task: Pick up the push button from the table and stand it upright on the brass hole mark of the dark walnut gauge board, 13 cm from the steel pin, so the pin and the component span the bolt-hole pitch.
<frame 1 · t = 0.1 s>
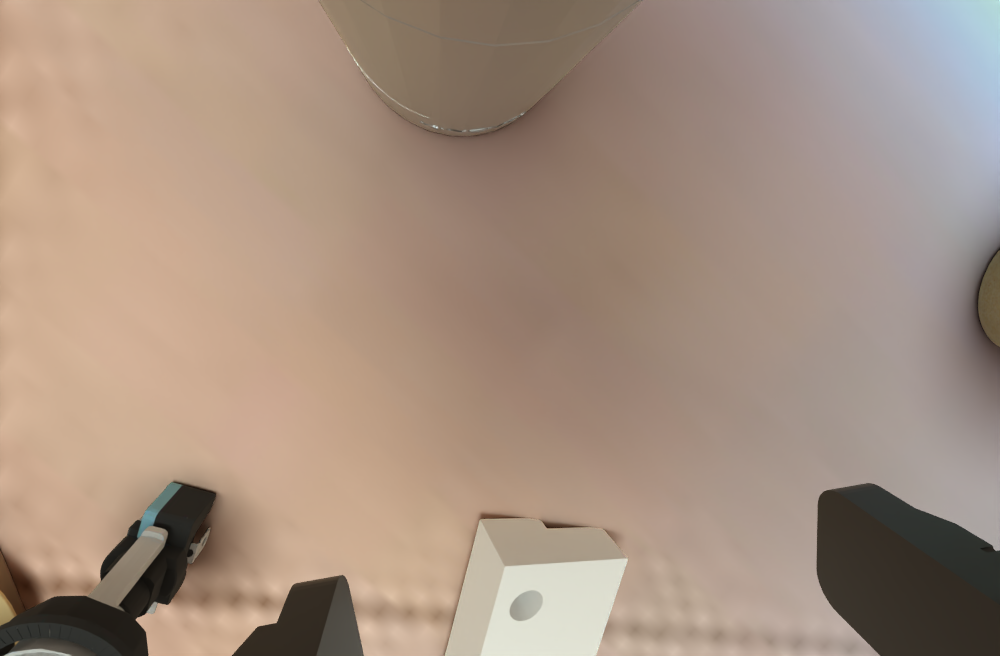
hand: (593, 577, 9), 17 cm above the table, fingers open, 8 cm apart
bracket: (526, 615, 30), on the table
push button: (178, 532, 26), on the table
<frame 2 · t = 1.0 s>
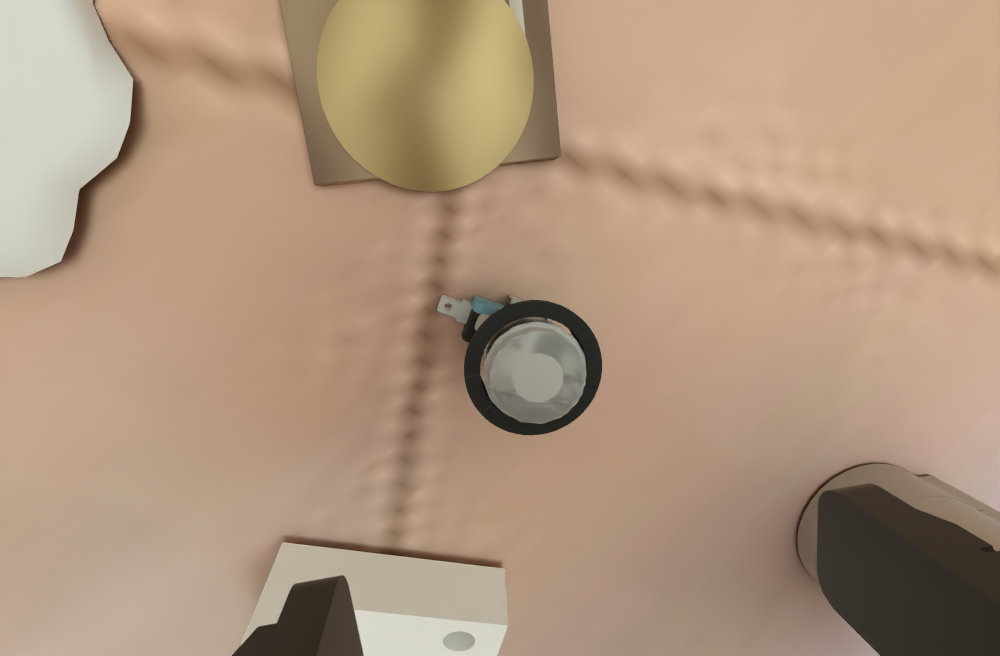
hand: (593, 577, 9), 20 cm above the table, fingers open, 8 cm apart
bracket: (387, 606, 32), on the table
push button: (497, 318, 29), on the table
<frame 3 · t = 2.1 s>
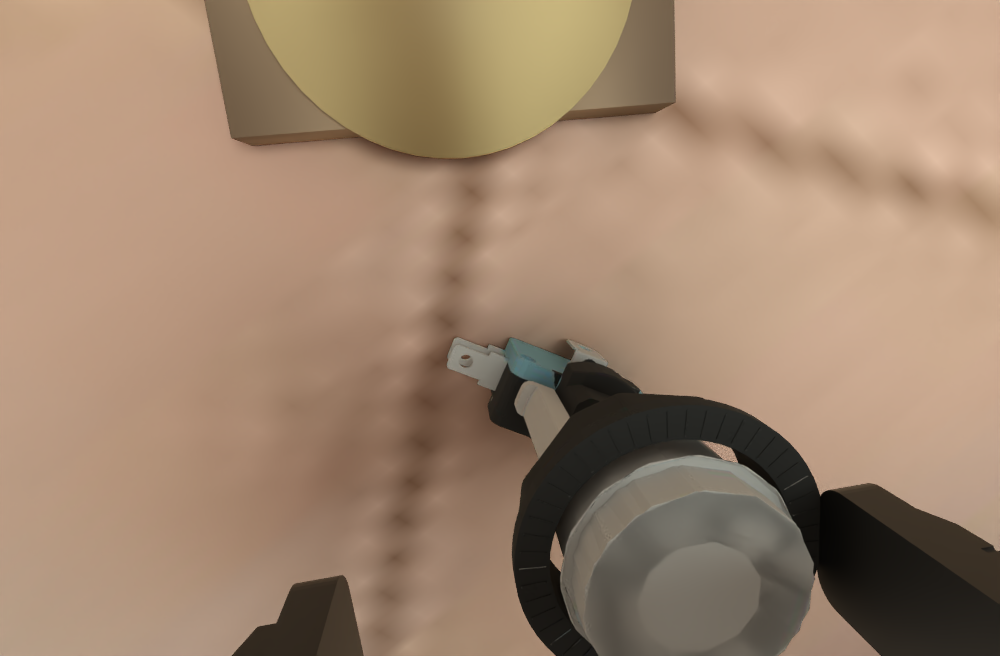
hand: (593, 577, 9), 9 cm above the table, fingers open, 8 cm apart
push button: (543, 374, 17), on the table, touching gripper
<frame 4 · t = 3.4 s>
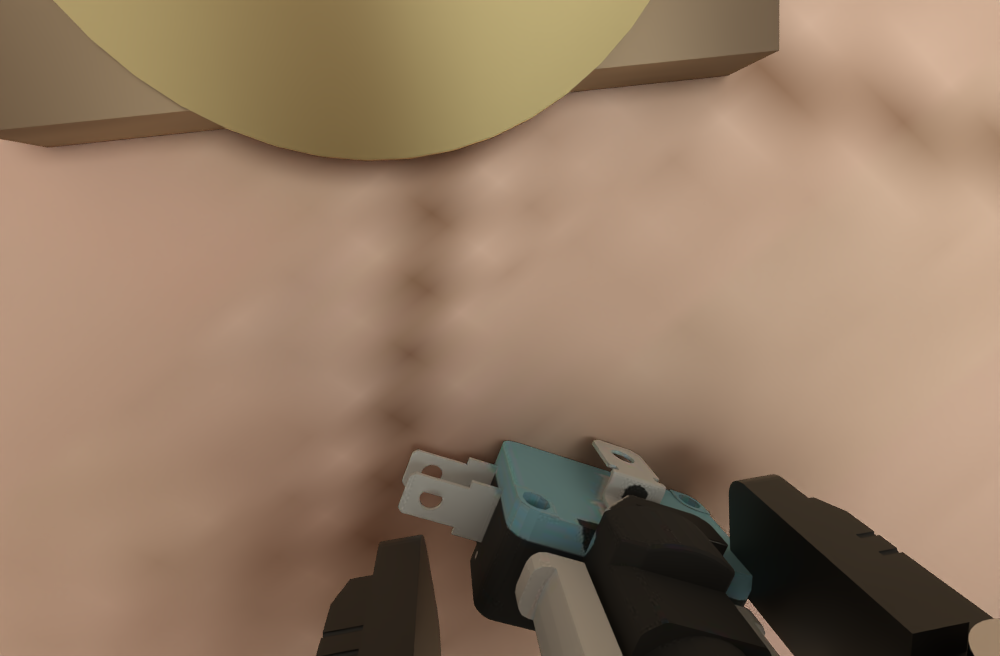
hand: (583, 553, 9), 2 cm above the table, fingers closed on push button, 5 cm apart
push button: (556, 489, 11), on the table, touching gripper
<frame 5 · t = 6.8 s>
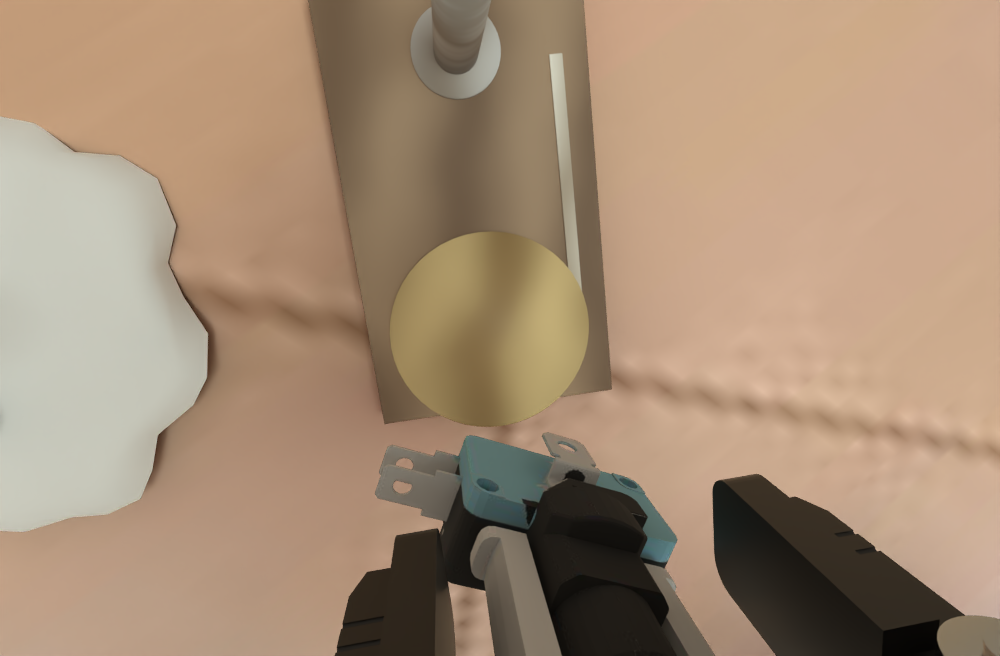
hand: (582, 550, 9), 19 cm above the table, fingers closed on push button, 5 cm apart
figurine: (27, 325, 25), on the table
gauge board: (473, 211, 26), on the table
push button: (514, 476, 13), point 15 cm above the table, touching gripper
when the fingers open (5 cm above the table, at t = 10.1 s): push button stays where it is, resting on gauge board.
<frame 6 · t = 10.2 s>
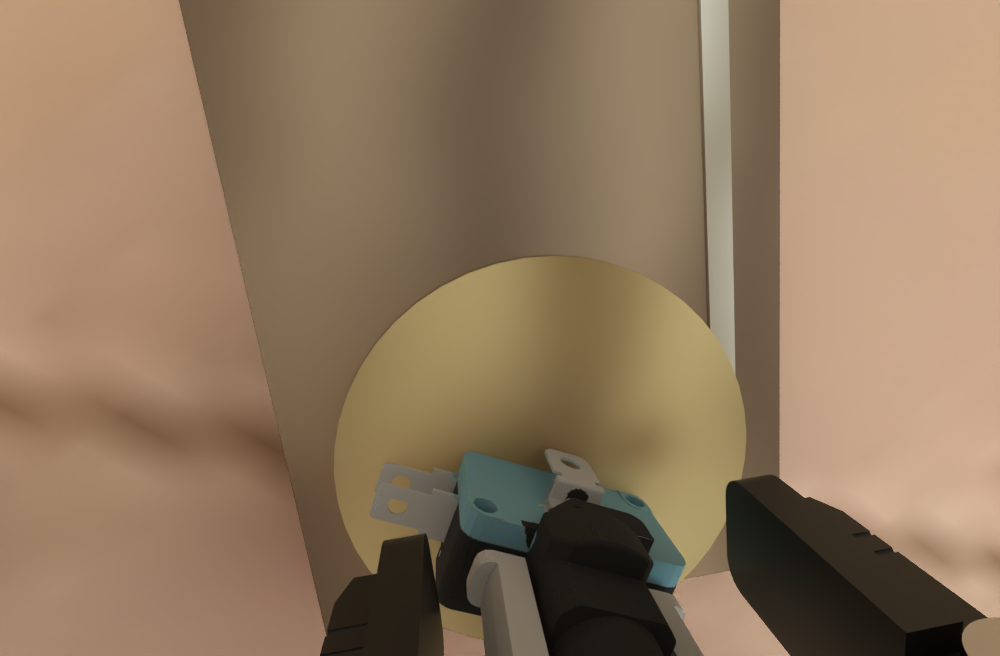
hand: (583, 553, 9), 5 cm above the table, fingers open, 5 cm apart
gauge board: (510, 212, 13), on the table
push button: (516, 493, 13), point 2 cm above the table, touching gauge board
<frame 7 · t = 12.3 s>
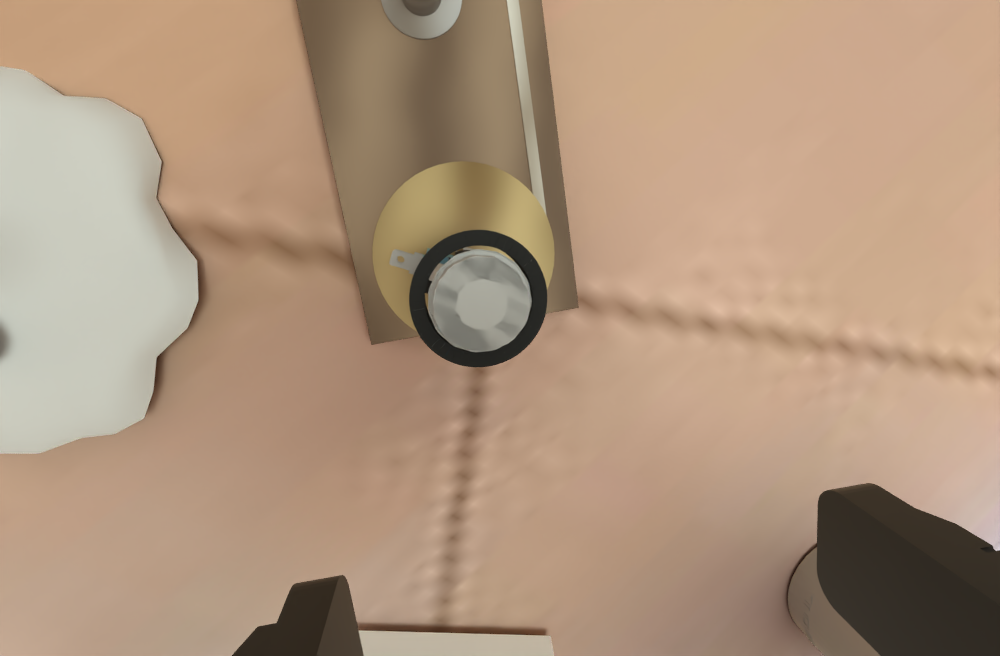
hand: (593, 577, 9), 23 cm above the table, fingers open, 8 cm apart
figurine: (29, 263, 28), on the table
gauge board: (445, 146, 29), on the table
push button: (452, 270, 29), point 2 cm above the table, touching gauge board
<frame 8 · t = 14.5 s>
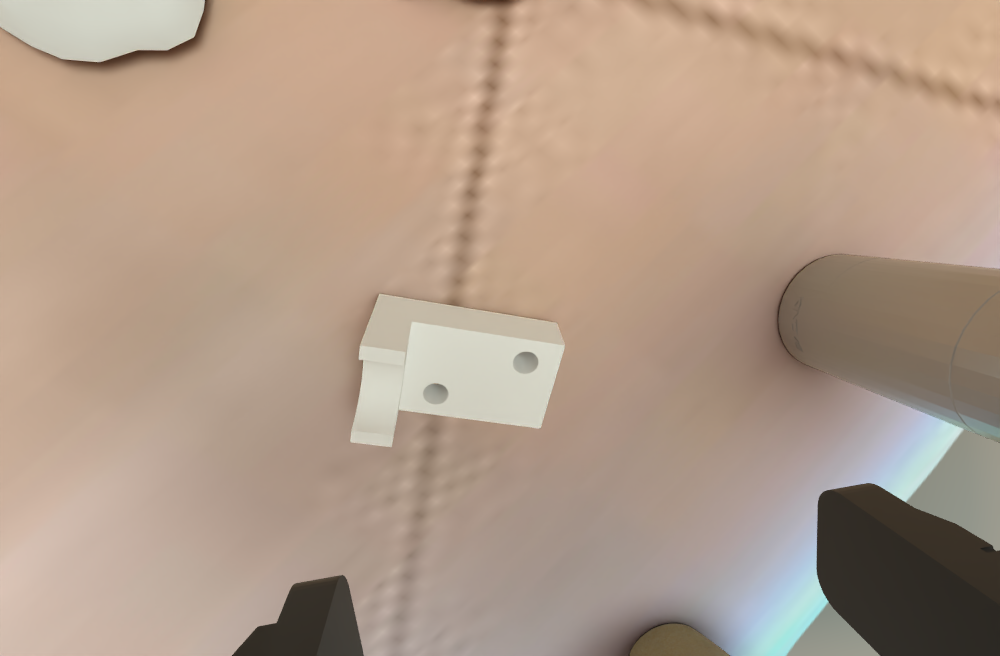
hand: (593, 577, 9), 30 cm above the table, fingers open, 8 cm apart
bracket: (459, 362, 39), on the table
plant pot: (667, 655, 47), on the table
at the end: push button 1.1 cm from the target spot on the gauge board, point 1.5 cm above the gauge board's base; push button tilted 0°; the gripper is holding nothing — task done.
